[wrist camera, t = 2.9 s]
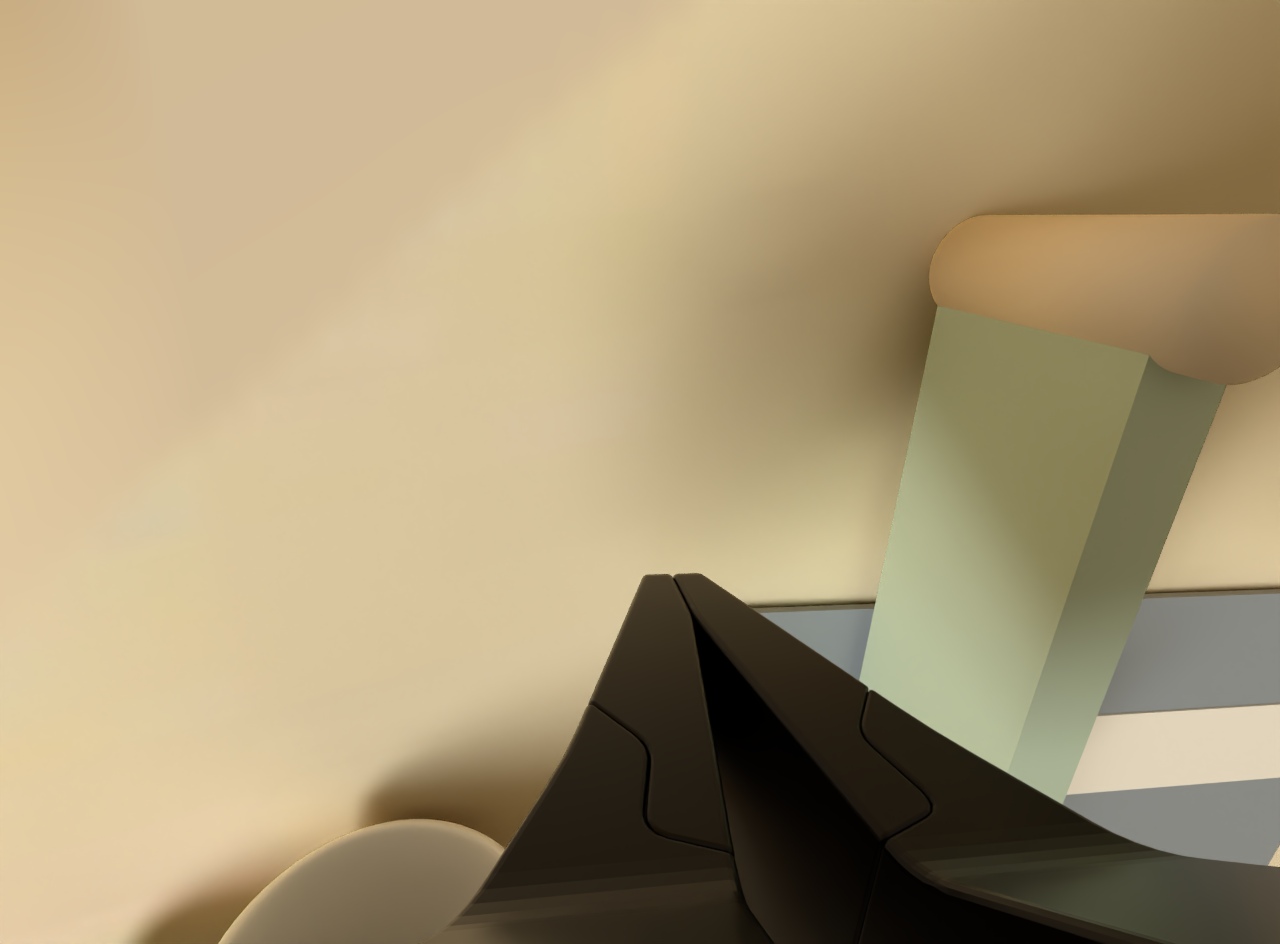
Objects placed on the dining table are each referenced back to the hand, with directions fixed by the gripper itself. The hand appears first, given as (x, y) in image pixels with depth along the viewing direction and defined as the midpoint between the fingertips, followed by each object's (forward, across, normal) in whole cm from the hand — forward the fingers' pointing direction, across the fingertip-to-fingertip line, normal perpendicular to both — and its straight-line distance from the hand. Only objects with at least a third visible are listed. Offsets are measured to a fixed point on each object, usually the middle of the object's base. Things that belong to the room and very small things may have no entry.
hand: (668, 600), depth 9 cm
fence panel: (+3, -6, 0) cm, 7 cm away
